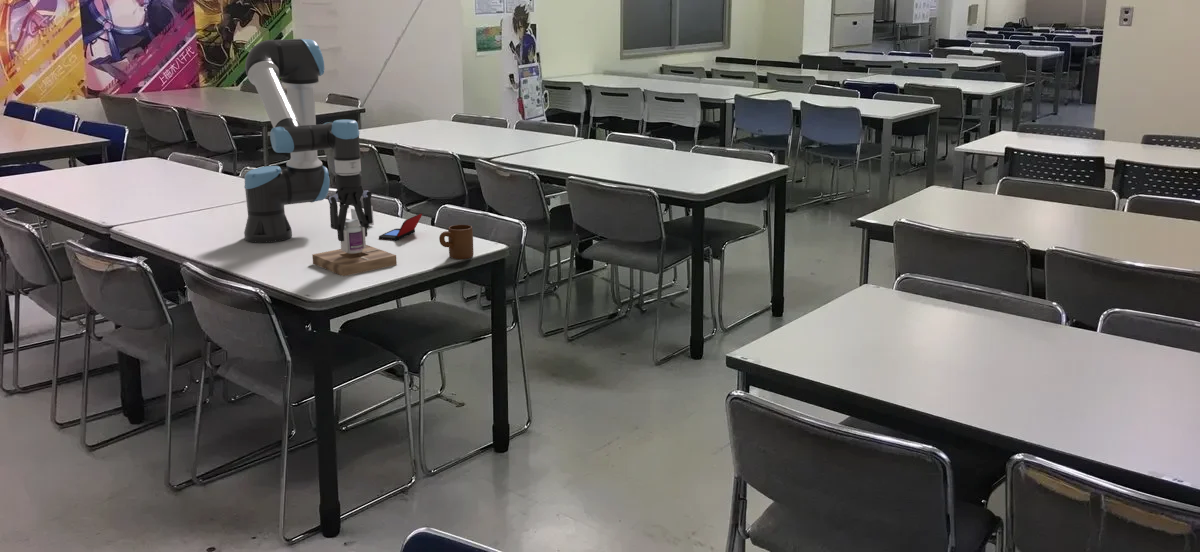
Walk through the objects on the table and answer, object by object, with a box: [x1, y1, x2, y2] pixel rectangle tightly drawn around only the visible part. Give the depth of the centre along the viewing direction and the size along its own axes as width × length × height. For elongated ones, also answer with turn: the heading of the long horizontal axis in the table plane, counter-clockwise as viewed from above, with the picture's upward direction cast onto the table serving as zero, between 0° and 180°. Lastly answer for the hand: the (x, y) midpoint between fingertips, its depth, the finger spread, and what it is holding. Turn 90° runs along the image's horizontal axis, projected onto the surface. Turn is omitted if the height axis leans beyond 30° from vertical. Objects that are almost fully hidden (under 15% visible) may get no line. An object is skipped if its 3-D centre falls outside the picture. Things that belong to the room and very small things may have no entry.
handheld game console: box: [378, 213, 423, 242], centre depth 325 cm, size 12×11×7 cm
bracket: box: [344, 205, 375, 228], centre depth 340 cm, size 13×7×8 cm, turn 47°
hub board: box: [312, 244, 398, 277], centre depth 292 cm, size 18×18×3 cm
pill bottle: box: [344, 219, 363, 254], centre depth 290 cm, size 5×5×10 cm
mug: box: [439, 224, 474, 260], centre depth 299 cm, size 12×8×9 cm, turn 138°
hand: (353, 249), depth 291 cm, fingers closed on pill bottle, 5 cm apart
